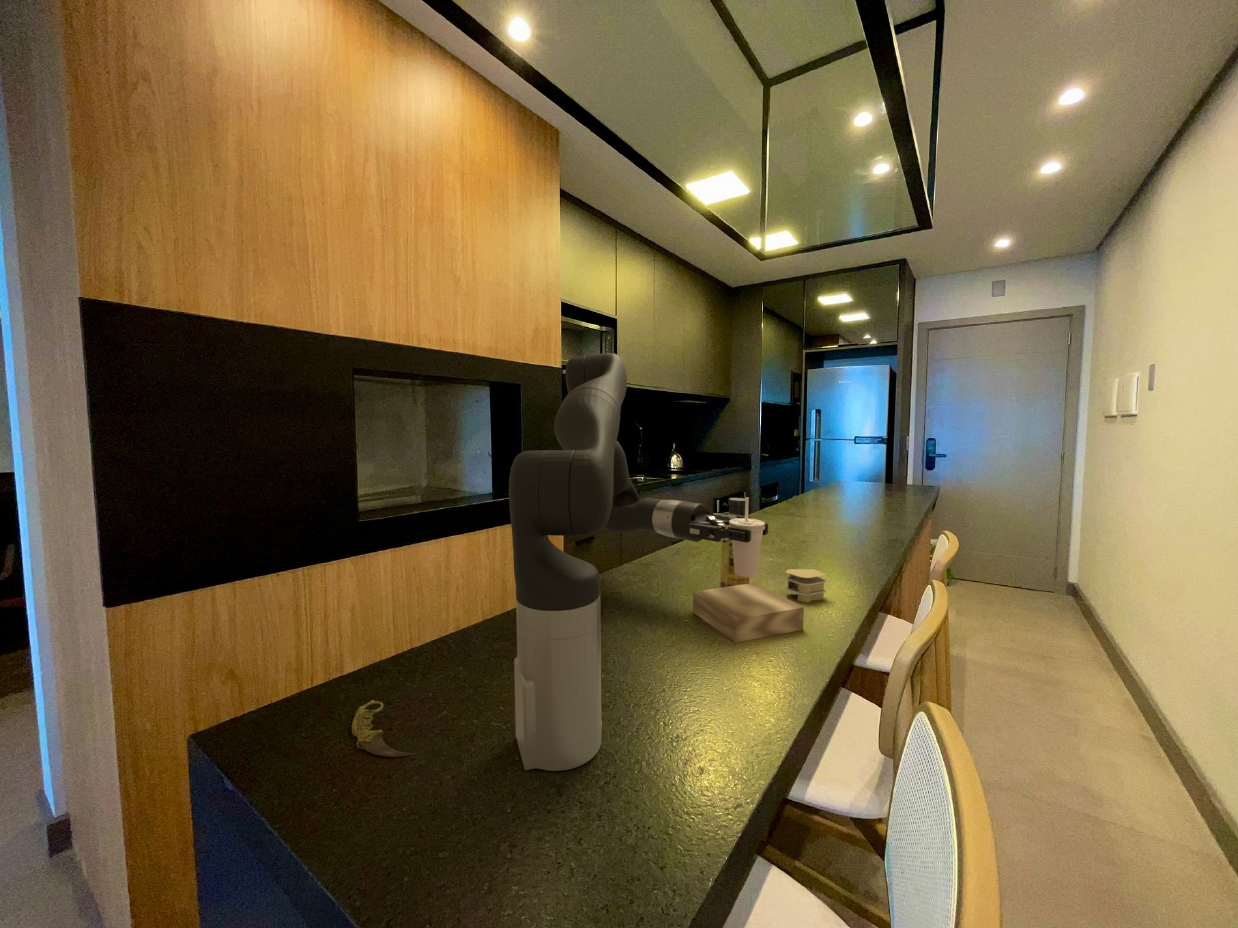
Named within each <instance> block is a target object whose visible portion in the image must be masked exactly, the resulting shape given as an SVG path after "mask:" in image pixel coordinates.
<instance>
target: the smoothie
mask: <svg viewBox="0 0 1238 928" xmlns="http://www.w3.org/2000/svg"><path fill="white" fill-rule="evenodd" d="M744 499H745V518H738V519H732V520H730V521H729V526H730V527H737V528H743V529H749V530H750V531H751V541H750V542H748V543H746V542H741V541H735V540H732V548H733V558H734V568H735V574H736V575H738V576H741V577H749V578H754V577H755V576H757V575H756V574H757V569H758V563H759V558H760V553H761V545H762V539H763V535H762V534H763V530H764V529H765V523H766V522H764V521H763V520H759V519H755V518H751V519H748V516H749V500H750V498H749V497H748V496H747V497H745V498H744Z"/></svg>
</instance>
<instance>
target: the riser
mask: <svg viewBox="0 0 1238 928" xmlns="http://www.w3.org/2000/svg"><path fill="white" fill-rule="evenodd" d="M804 610H805V609H804V606H802V605H800V604H798V603H796V602H794V601H792V600H790V599H788V598H786V597H784V596H782V595H779V594H778V593H776V592H773V591H772V590H770V589H767V588H765V587H764V586H761V585H759V584H758V583H756V582H751V583H750V582H749V584H743V585H736V586H729V587H722V588H721V587H716V588H709V589H704V590H696V591H692V613H694V614H695V615H696V616H698V617H700V619H702V621H704V622H706V623H708V624H709V625H710V626H712V627H713V628H715V630H717V631H719V632H720V633H721V634H722V635H724V636H726V637H727V638H728V639H730V640H731V642H734V643H735V644H737V643H741V642H746V641H747V642H748V641H752V640H756V639H762V638H767V637H772V636H776V635H782V634H787V633H792V632H796V631H797V632H798V631H803V630H804V617H805V616H804V615H805V614H804Z"/></svg>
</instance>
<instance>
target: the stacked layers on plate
mask: <svg viewBox="0 0 1238 928" xmlns="http://www.w3.org/2000/svg"><path fill="white" fill-rule="evenodd" d="M785 573H786V574H789V575H786V577H785V580H786V581H787V584H785V590H787V591H790V592H792V593H796V594H797V601H799V602H801V603H811V602H812V601H818V600H824V593H827V590H826V589H825V583H827V580H826V579H824V578H822V577H820V576H827V574H826V573H824V572H821V571H819V570H817V569H814V568H810V569H809V568H806V569H805V568H797V569H796V568H795V569H793V568H792V569H786V570H785Z"/></svg>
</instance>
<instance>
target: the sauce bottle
mask: <svg viewBox="0 0 1238 928" xmlns="http://www.w3.org/2000/svg"><path fill="white" fill-rule="evenodd" d="M728 506H729V508H728V513H730V514H735V515H741V516H745V498H742V497H741V498H739V497H730V498H728ZM720 549H721V551H720V553H721V554H720V568H719V569H720V571H719V580H720V582H719V585H720V588H722V587H729V586H736V585H743V584H749V583H750V577H741V576H738V575H736V574H735V568H734V558H733V548H732V540H730V538H729V540H727V541H725V540H722V539H721V548H720Z"/></svg>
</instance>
